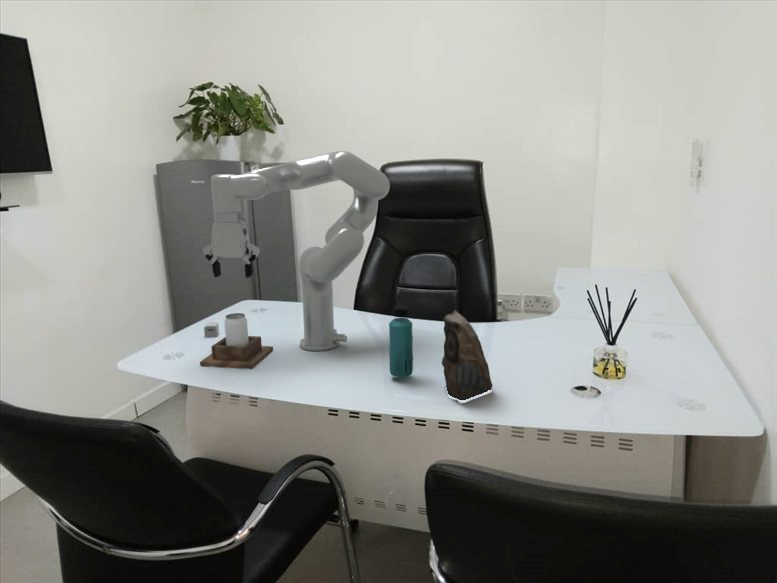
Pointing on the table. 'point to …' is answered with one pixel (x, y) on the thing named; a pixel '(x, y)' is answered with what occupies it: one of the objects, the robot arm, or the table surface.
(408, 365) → the beverage bottle
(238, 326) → the can
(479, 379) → the owl
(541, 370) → the table surface
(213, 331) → the usb wall charger
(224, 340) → the holder
